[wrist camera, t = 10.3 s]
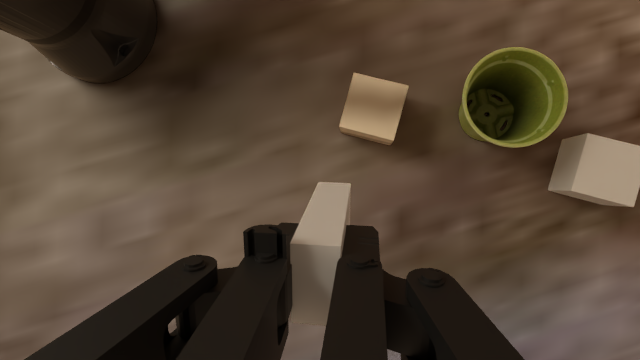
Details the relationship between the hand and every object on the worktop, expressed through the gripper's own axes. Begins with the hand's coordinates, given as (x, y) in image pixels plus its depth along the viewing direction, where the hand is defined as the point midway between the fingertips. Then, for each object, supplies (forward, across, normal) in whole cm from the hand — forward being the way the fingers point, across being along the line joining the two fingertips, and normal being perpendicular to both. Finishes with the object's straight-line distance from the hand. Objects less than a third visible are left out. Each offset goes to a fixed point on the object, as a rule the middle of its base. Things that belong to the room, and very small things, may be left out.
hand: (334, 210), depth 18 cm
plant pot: (+30, +15, +1) cm, 33 cm away
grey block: (+28, +26, -4) cm, 38 cm away
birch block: (+30, +2, +1) cm, 30 cm away
